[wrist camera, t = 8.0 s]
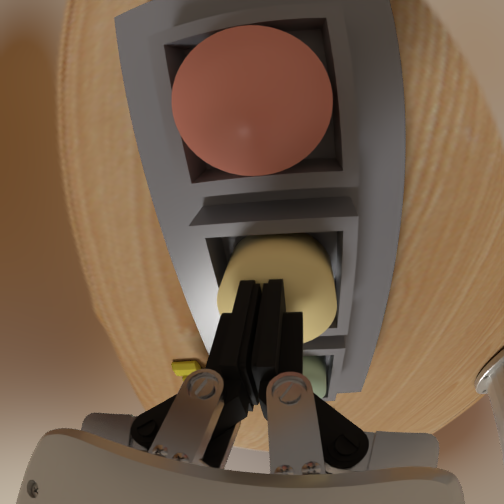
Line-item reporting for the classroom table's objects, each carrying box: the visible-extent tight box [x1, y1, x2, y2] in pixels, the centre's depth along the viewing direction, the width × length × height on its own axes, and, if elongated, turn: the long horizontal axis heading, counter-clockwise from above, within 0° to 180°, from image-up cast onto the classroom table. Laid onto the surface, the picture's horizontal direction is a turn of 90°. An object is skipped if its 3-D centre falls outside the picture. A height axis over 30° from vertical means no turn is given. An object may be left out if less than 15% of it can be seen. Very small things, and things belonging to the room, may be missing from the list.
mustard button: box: [217, 233, 337, 343], centre depth 12 cm, size 5×5×2 cm
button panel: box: [114, 0, 405, 401], centre depth 14 cm, size 12×28×5 cm, turn 8°
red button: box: [172, 25, 333, 176], centre depth 8 cm, size 5×5×2 cm
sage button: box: [303, 355, 326, 399], centre depth 17 cm, size 5×5×2 cm
